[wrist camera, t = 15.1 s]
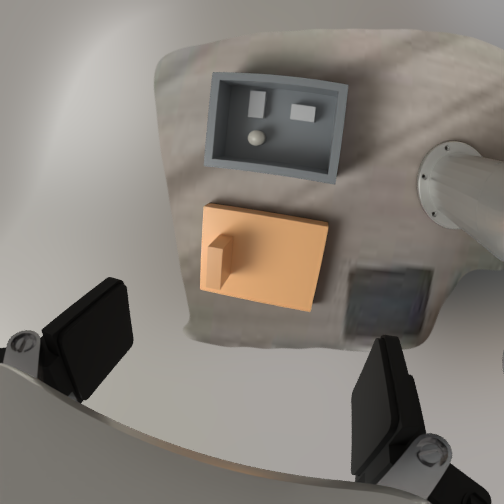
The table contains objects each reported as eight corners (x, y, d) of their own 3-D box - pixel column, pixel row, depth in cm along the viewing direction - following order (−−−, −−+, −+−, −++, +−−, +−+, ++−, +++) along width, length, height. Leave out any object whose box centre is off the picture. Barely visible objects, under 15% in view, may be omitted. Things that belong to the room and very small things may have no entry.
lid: (328, 222, 42) (329, 239, 35) (310, 304, 47) (308, 331, 40) (209, 202, 44) (189, 215, 38) (205, 282, 50) (187, 305, 43)
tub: (344, 92, 35) (348, 84, 29) (333, 178, 39) (335, 184, 34) (227, 80, 37) (212, 72, 32) (219, 161, 42) (203, 166, 36)
